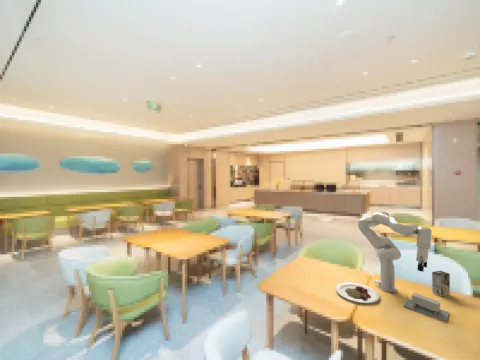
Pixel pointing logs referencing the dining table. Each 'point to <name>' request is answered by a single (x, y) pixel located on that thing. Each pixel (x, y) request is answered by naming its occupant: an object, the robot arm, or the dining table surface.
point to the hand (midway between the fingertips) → (422, 268)
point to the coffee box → (441, 283)
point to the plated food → (357, 292)
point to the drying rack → (427, 310)
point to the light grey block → (426, 302)
